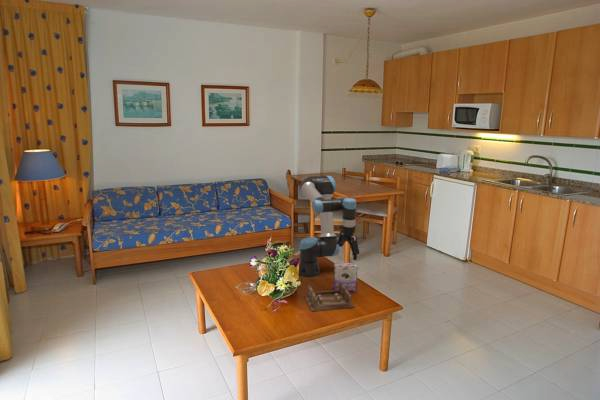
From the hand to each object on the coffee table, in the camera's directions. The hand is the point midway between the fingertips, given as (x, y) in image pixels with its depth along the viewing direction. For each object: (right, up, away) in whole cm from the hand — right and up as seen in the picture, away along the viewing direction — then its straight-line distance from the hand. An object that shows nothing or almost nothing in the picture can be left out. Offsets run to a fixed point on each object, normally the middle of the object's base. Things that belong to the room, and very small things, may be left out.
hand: (347, 260), depth 232 cm
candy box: (0, -19, +9) cm, 21 cm away
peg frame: (-11, -22, -7) cm, 26 cm away
